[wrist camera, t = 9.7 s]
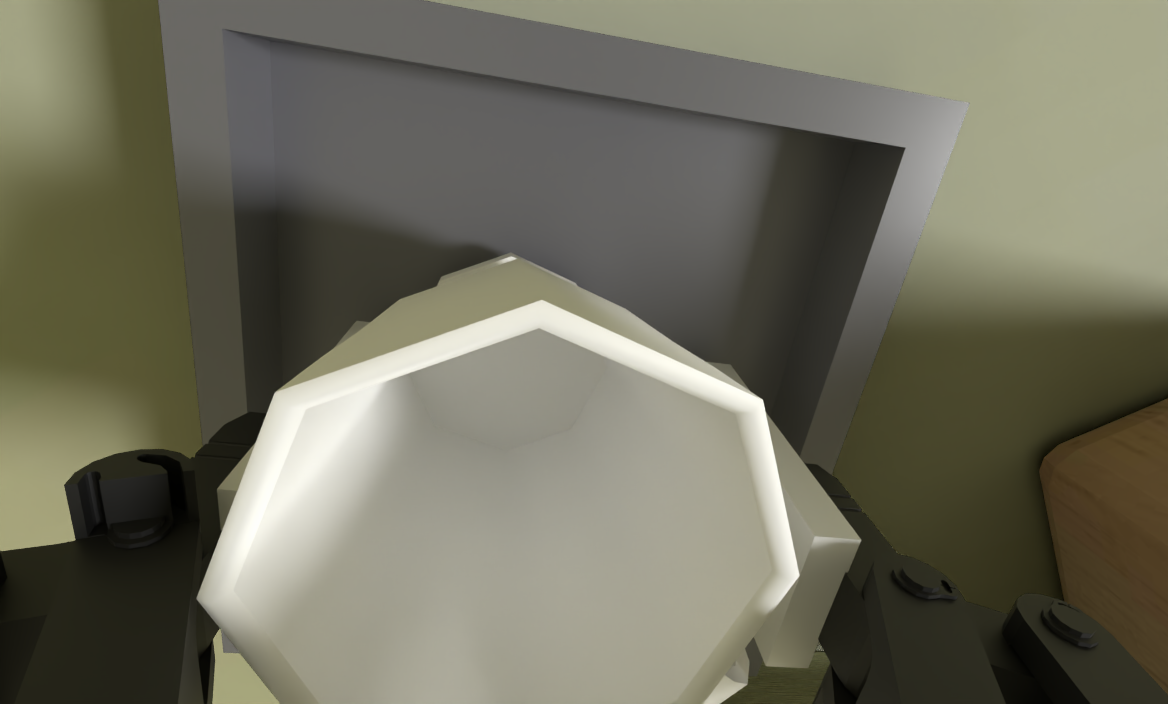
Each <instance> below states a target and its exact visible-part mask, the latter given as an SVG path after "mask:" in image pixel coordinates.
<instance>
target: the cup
mask: <svg viewBox="0 0 1168 704" xmlns="http://www.w3.org/2000/svg"><path fill="white" fill-rule="evenodd" d="M799 576H800V575H799V571H798V566H797V561H796V556H795V551H794V547H793V542H792V537H791V532H790V527H789V523H788V518H787V513H786V508H785V503H784V499H783V494H782V489H781V484H780V479H779V474H778V470H777V465H776V460H775V455H774V450H773V446H772V441H771V436H770V431H769V426H768V422H767V417H766V412H765V407H764V402H763V400H762V399H761V398H759V397H758V396H756V395H755V394H753V393H752V392H750V391H749V390H747V389H746V388H744V387H743V386H742V385H740V384H739V383H737V382H736V381H734V380H733V379H731V378H730V377H728V376H727V375H725V374H724V373H722V372H721V371H719V370H718V369H716V368H715V367H713V366H712V365H710V364H708V363H707V362H705V361H704V360H702V359H700V358H699V357H697V356H695V355H694V354H692V353H691V352H689V351H687V350H686V349H684V348H683V347H681V346H679V345H678V344H676V343H674V342H673V341H671V340H670V339H668V338H667V337H666V336H664V335H663V334H661V333H660V332H658V331H657V330H655V329H654V328H653V327H651V326H650V325H648V324H647V323H645V322H644V321H642V320H641V319H640V318H638V317H637V316H635V315H634V314H632V313H631V312H629V311H628V310H626V309H625V308H623V307H621V306H619V305H616V304H614V303H612V302H610V301H608V300H606V299H604V298H602V297H599V296H597V295H595V294H593V293H591V292H589V291H587V290H585V289H582V288H580V287H578V286H577V284H576V283H575V282H572V281H570V280H568V279H566V278H564V277H562V276H560V275H558V274H555V273H553V272H551V271H549V270H547V269H545V268H543V267H541V266H538V265H536V264H534V263H532V262H530V261H528V260H526V259H524V258H521V257H519V256H517V255H515V254H513V253H508V254H505V255H502V256H499V257H497V258H494V259H491V260H488V261H485V262H482V263H479V264H476V265H473V266H470V267H468V268H465V269H462V270H459V271H456V272H453V273H450V274H447V275H444V276H441V278H440V280H439V283H438V285H437V287H434V288H431V289H428V290H425V291H422V292H419V293H416V294H413V295H411V296H408V297H405V298H402V299H399V300H398V301H397V302H396V303H394V304H393V305H392V306H390V307H389V308H388V309H387V310H385V311H384V312H383V313H382V314H380V315H379V316H378V317H376V318H375V319H374V320H373V321H371V322H370V323H369V324H368V325H366V326H365V327H364V328H362V329H361V330H360V331H359V332H357V333H356V334H354V335H353V336H351V337H350V338H348V339H347V340H345V341H344V342H343V343H341V344H340V345H338V346H337V347H335V348H334V349H332V350H331V351H329V352H328V353H327V354H325V355H324V356H322V357H321V358H320V359H318V360H317V361H316V362H314V363H313V364H312V365H310V366H309V367H308V368H306V369H305V370H304V371H302V372H301V373H300V374H298V375H297V376H296V377H294V378H293V379H292V380H290V381H289V382H288V383H286V384H285V385H284V386H283V387H281V388H280V389H279V390H277V391H276V392H275V393H274V396H273V398H272V401H271V404H270V406H269V409H268V412H267V414H266V417H265V420H264V422H263V425H262V427H261V430H260V433H259V435H258V438H257V441H256V443H255V446H254V448H253V451H252V454H251V456H250V459H249V462H248V464H247V467H246V469H245V472H244V475H243V477H242V480H241V483H240V485H239V488H238V490H237V493H236V496H235V498H234V501H233V504H232V506H231V509H230V511H229V514H228V517H227V519H226V522H225V525H224V527H223V530H222V532H221V535H220V538H219V540H218V543H217V546H216V548H215V551H214V553H213V556H212V559H211V561H210V564H209V567H208V569H207V572H206V575H205V577H204V580H203V582H202V585H201V588H200V590H199V593H198V596H197V598H196V599H197V600H198V602H199V603H200V604H201V605H202V607H203V608H204V609H205V610H206V612H207V613H208V614H209V615H210V617H211V618H212V619H213V620H214V622H215V623H216V624H217V625H218V627H219V628H220V629H221V630H222V632H223V633H224V634H225V635H226V637H227V638H228V639H229V640H230V642H231V643H232V644H233V645H234V647H235V648H236V649H237V650H238V651H239V653H240V654H241V655H242V656H243V658H244V659H245V660H246V661H247V663H248V664H249V665H250V666H251V668H252V669H253V670H254V671H255V673H256V674H257V675H258V676H259V678H260V679H261V680H262V681H263V683H264V684H265V685H266V686H267V688H268V689H269V690H270V691H271V693H272V694H273V695H274V696H275V698H276V699H277V700H278V701H279V703H280V704H720V703H722V702H723V701H724V700H726V699H727V698H729V697H730V696H732V695H733V694H735V693H736V692H737V691H739V690H740V689H742V688H743V687H745V686H746V685H747V684H748V673H749V659H748V656H747V653H746V650H745V648H746V646H747V645H748V644H749V642H750V641H751V640H752V638H753V637H754V636H755V634H756V633H757V632H758V630H759V629H760V628H761V626H762V625H763V624H764V622H765V621H766V620H767V618H768V617H769V616H770V614H771V613H772V612H773V610H774V609H775V608H776V606H777V605H778V604H779V602H780V601H781V600H782V598H783V597H784V596H785V594H786V593H787V592H788V590H789V589H790V588H791V586H792V585H793V584H794V583H795V581H796V580H797V579H798V577H799Z"/></svg>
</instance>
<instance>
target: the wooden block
mask: <svg viewBox="0 0 1168 704" xmlns="http://www.w3.org/2000/svg"><path fill="white" fill-rule="evenodd" d="M1039 473H1040V478H1041V484H1042V489H1043V494H1044V499H1045V504H1046V509H1047V514H1048V520H1049V525H1050V530H1051V535H1052V540H1053V545H1054V551H1055V556H1056V561H1057V566H1058V571H1059V576H1060V581H1061V587H1062V592H1063V597H1064V602H1067V604H1071V605H1073V606H1075V607H1077V608H1079V609H1080V610H1082V611H1083V613H1085V614H1086V615H1088V616H1090V617H1091V618H1093V619H1094V620H1096V621H1097V622H1098V623H1099V624H1100V625H1102V626H1103V627H1104V628H1105V629H1106V630H1107V631H1108V632H1109V633H1111V634H1112V635H1113V636H1114V637H1115V639H1116V640H1117V641H1118V642H1119V643H1120V644H1121V645H1122V646H1123V647H1124V648H1125V649H1126V650H1127V651H1128V652H1129V654H1130V655H1131V656H1132V657H1133V658H1134V659H1135V660H1136V661H1137V662H1138V663H1139V664H1140V665H1141V666H1142V667H1143V668H1144V670H1145V671H1146V672H1147V673H1148V674H1149V675H1150V676H1151V677H1152V678H1153V679H1154V680H1155V681H1156V682H1157V683H1158V685H1159V686H1160V687H1161V688H1162V689H1163V690H1164V691H1165V692H1166V693H1167V694H1168V399H1165V400H1163V401H1161V402H1158V403H1156V404H1153V405H1151V406H1149V407H1146V408H1144V409H1142V410H1139V411H1137V412H1135V413H1132V414H1130V415H1127V416H1125V417H1123V418H1120V419H1118V420H1116V421H1113V422H1111V423H1108V424H1106V425H1104V426H1101V427H1099V428H1097V429H1094V430H1092V431H1090V432H1087V433H1085V434H1082V435H1080V436H1078V437H1075V438H1073V439H1071V440H1068V441H1066V442H1063V443H1061V444H1059V445H1057V446H1056V447H1055V448H1054V449H1053V450H1052V451H1051V452H1050V453H1049V454H1048V455H1046V456H1045V457H1044V459H1043V462H1042V464H1041V467H1040V470H1039Z"/></svg>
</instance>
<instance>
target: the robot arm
mask: <svg viewBox="0 0 1168 704" xmlns="http://www.w3.org/2000/svg"><path fill="white" fill-rule="evenodd" d="M369 323H370V322H363V321H356V322H355V323H354V324H353V326H352V327H351V328H350V329H349V330H348V332H347V333H346V334H345V335H344V336H343V338H342V339H341V340H340V341H339V342H338V344H337V345H336V346H335V347H337V346H338V345H340V344H341V343H343V342H344V341H345V340H347V339H348V338H350V337H351V336H353V335H354V334H356V333H357V332H359V331H360V330H361V329H362V328H364V327H365V326H366V325H368V324H369ZM335 347H334V348H335ZM334 348H333V349H334ZM707 363H708V364H710V365H712V366H713V367H715V368H716V369H718V370H719V371H721V372H722V373H724V374H725V375H727V376H728V377H730V378H731V379H733V380H734V381H736V382H737V383H739V384H740V385H742V386H743V387H744V388H746V389H747V390H749V389H748V388H747V386H746V385H745V384H744V382H743V381H742V379H741V378H740V377H739V375H738V374H737V373H736V371H735V370H734V369H733V367H732V366H731V365H730V364H722V363H713V362H707ZM749 391H750V390H749ZM266 414H267V413H258V412H248V413H246V414H244V415H242V416H240V417H238V418H236V419H234V420H232V421H230V422H228V423H226V424H224V425H223V426H222V427H221V428H220V429H219V430H218V431H217V432H216V433H215V434H214V435H213V436H212V437H211V439H210V440H209V442H208V444H205V445H204V446H203V447H202V448H201V449H200V450H199V451H198V452H197V453H196V454H195V458H193V457H192V458H191V459H189V458H187V457H186V456H184V455H183V454H181V453H178V452H173V451H169V450H164V449H140V450H135V451H129V452H123V453H118V454H114V455H111V456H108V457H106V458H103V459H100V460H97V461H94V462H92V463H90V464H89V465H87V466H85V467H84V468H82V469H80V470H79V471H77V472H75V473H74V474H73V475H72V477H71V478H70V479H69V480H68V481H67V482H66V484H65V485H64V486H65V491H66V496H67V501H68V505H69V510H70V515H71V520H72V524H73V529H74V534H75V539H76V540H75V541H72V542H66V543H61V544H54V545H47V546H39V547H31V548H24V549H16V550H8V551H0V704H212V698H213V683H214V668H215V654H214V645H213V638H214V636H215V635H216V633H217V632H218V630H219V627H218V625H217V624H216V623H215V622H214V620H213V619H212V618H211V617H210V615H209V614H208V613H207V612H206V610H205V609H204V608H203V607H202V605H201V604H200V603H199V602H198V600H197V599H196V598H197V596H198V593H199V590H200V588H201V585H202V582H203V580H204V577H205V575H206V572H207V569H208V567H209V564H210V561H211V559H212V556H213V553H214V551H215V548H216V546H217V543H218V540H219V538H220V535H221V532H222V530H223V527H224V525H225V522H226V519H227V517H228V514H229V511H230V509H231V506H232V504H233V501H234V498H235V496H236V493H237V490H238V488H239V485H240V483H241V480H242V477H243V475H244V472H245V469H246V467H247V464H248V462H249V459H250V456H251V454H252V451H253V448H254V446H255V443H256V441H257V438H258V435H259V433H260V430H261V427H262V425H263V422H264V420H265V417H266ZM766 417H767V422H768V426H769V431H770V436H771V441H772V446H773V450H774V455H775V460H776V465H777V470H778V474H779V479H780V484H781V489H782V494H783V499H784V503H785V508H786V513H787V518H788V523H789V527H790V532H791V537H792V542H793V547H794V551H795V556H796V561H797V566H798V571H799V575H800V576H799V577H798V579H797V580H796V581H795V583H794V584H793V585H792V586H791V588H790V589H789V590H788V592H787V593H786V594H785V596H784V597H783V598H782V600H781V601H780V602H779V604H778V605H777V606H776V608H775V609H774V610H773V612H772V613H771V614H770V616H769V617H768V618H767V620H766V621H765V622H764V624H763V625H762V626H761V628H760V629H759V630H758V632H757V633H756V634H755V636H754V639H755V641H756V644H757V646H758V648H759V651H760V653H761V656H762V658H763V661H764V663H765V666H770V667H791V668H808V667H809V665H810V663H811V660H812V658H813V655H814V653H815V651H816V648H817V646H818V643H819V642H820V644H821V646H822V648H823V650H824V652H825V653H826V655H827V657H828V659H829V661H830V664H829V666H828V669H827V671H826V673H825V675H824V678H823V680H822V682H821V685H820V687H819V689H818V692H817V694H816V696H815V699H814V701H813V703H812V704H1168V694H1167V693H1166V692H1165V691H1164V690H1163V689H1162V688H1161V687H1160V686H1159V685H1158V683H1157V682H1156V681H1155V680H1154V679H1153V678H1152V677H1151V676H1150V675H1149V674H1148V673H1147V672H1146V671H1145V670H1144V668H1143V667H1142V666H1141V665H1140V664H1139V663H1138V662H1137V661H1136V660H1135V659H1134V658H1133V657H1132V656H1131V655H1130V654H1129V652H1128V651H1127V650H1126V649H1125V648H1124V647H1123V646H1122V645H1121V644H1120V643H1119V642H1118V641H1117V640H1116V639H1115V637H1114V636H1113V635H1112V634H1111V633H1109V632H1108V631H1107V630H1106V629H1105V628H1104V627H1103V626H1102V625H1100V624H1099V623H1098V622H1097V621H1096V620H1094V619H1093V618H1091V617H1090V616H1088V615H1086V614H1085V613H1083V611H1082V610H1080V609H1079V608H1077V607H1075V606H1073V605H1071V604H1067V602H1064V601H1062V600H1059V599H1055V598H1052V597H1048V596H1045V595H1041V594H1024V595H1022V596H1020V597H1019V598H1017V600H1016V602H1015V604H1014V606H1013V607H1012V609H1011V611H1010V613H1009V614H1006V613H1002V612H999V611H996V610H992V609H989V608H986V607H982V606H979V605H976V604H972V603H969V602H966V601H965V600H964V598H963V596H962V594H961V593H960V591H959V590H958V588H957V587H956V585H954V584H953V583H952V582H951V581H950V580H949V579H948V578H947V577H946V576H945V575H944V574H942V573H941V572H939V571H937V570H936V569H934V568H933V567H931V566H929V565H928V564H926V563H923V562H921V561H919V560H916V559H914V558H911V557H908V556H903V555H898V554H897V553H896V552H895V550H894V549H893V548H892V547H891V545H890V544H889V543H888V542H887V540H886V539H885V538H884V537H883V535H882V534H881V533H880V532H879V530H878V529H877V528H876V527H875V525H874V524H873V523H872V522H871V520H870V519H869V518H868V517H867V515H866V514H865V513H862V512H861V510H862V509H861V508H860V507H859V506H858V504H857V503H856V502H855V501H854V499H851V498H850V497H851V496H850V494H849V493H848V492H847V491H846V489H845V488H844V487H843V486H842V484H841V483H840V482H839V481H838V479H836V478H835V477H834V476H832V475H831V474H829V473H828V472H827V471H825V470H824V469H823V468H821V467H820V466H819V465H817V464H809V463H803V461H802V460H801V458H800V457H799V456H798V454H797V453H796V452H795V450H794V449H793V448H792V446H791V445H790V444H789V442H788V441H787V440H786V438H785V437H784V436H783V434H782V433H781V432H780V430H779V429H778V428H777V426H776V425H775V424H774V422H773V421H772V420H771V418H770V417H769V416H768V414H767V413H766Z"/></svg>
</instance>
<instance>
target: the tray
mask: <svg viewBox="0 0 1168 704" xmlns="http://www.w3.org/2000/svg"><path fill="white" fill-rule="evenodd" d="M158 4H159V14H160V24H161V34H162V44H163V54H164V64H165V74H166V84H167V94H168V104H169V114H170V124H171V134H172V144H173V154H174V164H175V174H176V184H177V194H178V204H179V214H180V224H181V234H182V244H183V254H184V264H185V274H186V284H187V294H188V304H189V314H190V324H191V334H192V344H193V353H194V363H195V373H196V383H197V393H198V403H199V413H200V423H201V433H202V443H203V446H204V445H205V444H208V442H209V440H210V439H211V437H212V436H213V435H214V434H215V433H216V432H217V431H218V430H219V429H220V428H221V427H222V426H223V425H224V424H226V423H228V422H230V421H232V420H234V419H236V418H238V417H240V416H242V415H244V414H246V413H248V412H258V413H267V412H268V409H269V406H270V404H271V401H272V398H273V396H274V393H275V392H276V391H277V390H279V389H280V388H281V387H283V386H284V385H285V384H286V383H288V382H289V381H290V380H292V379H293V378H294V377H296V376H297V375H298V374H300V373H301V372H302V371H304V370H305V369H306V368H308V367H309V366H310V365H312V364H313V363H314V362H316V361H317V360H318V359H320V358H321V357H322V356H324V355H325V354H327V353H328V352H329V351H331V350H332V349H333V348H334V347H335V346H336V345H337V344H338V342H339V341H340V340H341V339H342V338H343V336H344V335H345V334H346V333H347V332H348V330H349V329H350V328H351V327H352V326H353V324H354V323H355V322H356V321H363V322H371V321H373V320H374V319H375V318H376V317H378V316H379V315H380V314H382V313H383V312H384V311H385V310H387V309H388V308H389V307H390V306H392V305H393V304H394V303H396V302H397V301H398V300H399V299H402V298H405V297H408V296H411V295H413V294H416V293H419V292H422V291H425V290H428V289H431V288H434V287H437V285H438V283H439V280H440V278H441V276H444V275H447V274H450V273H453V272H456V271H459V270H462V269H465V268H468V267H470V266H473V265H476V264H479V263H482V262H485V261H488V260H491V259H494V258H497V257H499V256H502V255H505V254H508V253H513V254H515V255H517V256H519V257H521V258H524V259H526V260H528V261H530V262H532V263H534V264H536V265H538V266H541V267H543V268H545V269H547V270H549V271H551V272H553V273H555V274H558V275H560V276H562V277H564V278H566V279H568V280H570V281H572V282H575V283H576V284H577V286H578V287H580V288H582V289H585V290H587V291H589V292H591V293H593V294H595V295H597V296H599V297H602V298H604V299H606V300H608V301H610V302H612V303H614V304H616V305H619V306H621V307H623V308H625V309H626V310H628V311H629V312H631V313H632V314H634V315H635V316H637V317H638V318H640V319H641V320H642V321H644V322H645V323H647V324H648V325H650V326H651V327H653V328H654V329H655V330H657V331H658V332H660V333H661V334H663V335H664V336H666V337H667V338H668V339H670V340H671V341H673V342H674V343H676V344H678V345H679V346H681V347H683V348H684V349H686V350H687V351H689V352H691V353H692V354H694V355H695V356H697V357H699V358H700V359H702V360H704V361H705V362H713V363H722V364H730V365H731V366H732V367H733V369H734V370H735V371H736V373H737V374H738V375H739V377H740V378H741V379H742V381H743V382H744V384H745V385H746V386H747V388H748V389H749V390H750V392H752V393H753V394H755V395H756V396H758V397H759V398H761V399H762V400H763V402H764V407H765V412H766V413H767V414H768V416H769V417H770V418H771V420H772V421H773V422H774V424H775V425H776V426H777V428H778V429H779V430H780V432H781V433H782V434H783V436H784V437H785V438H786V440H787V441H788V442H789V444H790V445H791V446H792V448H793V449H794V450H795V452H796V453H797V454H798V456H799V457H800V458H801V460H802V461H803V463H809V464H817V465H819V466H820V467H821V468H823V469H824V470H825V471H827V472H828V473H829V474H831V475H832V473H833V470H834V467H835V465H836V462H837V459H838V457H839V454H840V451H841V449H842V446H843V443H844V440H845V438H846V435H847V432H848V430H849V427H850V424H851V422H852V419H853V416H854V414H855V411H856V408H857V405H858V403H859V400H860V397H861V395H862V392H863V389H864V387H865V384H866V381H867V379H868V376H869V373H870V370H871V368H872V365H873V362H874V360H875V357H876V354H877V352H878V349H879V346H880V344H881V341H882V338H883V335H884V333H885V330H886V327H887V325H888V322H889V319H890V317H891V314H892V311H893V309H894V306H895V303H896V300H897V298H898V295H899V292H900V290H901V287H902V284H903V282H904V279H905V276H906V274H907V271H908V268H909V265H910V263H911V260H912V257H913V255H914V252H915V249H916V247H917V244H918V241H919V239H920V236H921V233H922V230H923V228H924V225H925V222H926V220H927V217H928V214H929V212H930V209H931V206H932V204H933V201H934V198H935V195H936V193H937V190H938V187H939V185H940V182H941V179H942V177H943V174H944V171H945V169H946V166H947V163H948V160H949V158H950V155H951V152H952V150H953V147H954V144H955V142H956V139H957V136H958V134H959V131H960V128H961V125H962V123H963V120H964V117H965V115H966V112H967V109H968V107H969V104H970V103H967V102H962V101H957V100H951V99H946V98H941V97H935V96H930V95H925V94H919V93H914V92H909V91H903V90H898V89H893V88H887V87H882V86H877V85H871V84H866V83H861V82H856V81H850V80H845V79H840V78H834V77H829V76H824V75H818V74H813V73H808V72H802V71H797V70H792V69H786V68H781V67H776V66H770V65H765V64H760V63H754V62H749V61H744V60H738V59H733V58H728V57H722V56H717V55H712V54H706V53H701V52H696V51H690V50H685V49H680V48H675V47H669V46H664V45H659V44H653V43H648V42H643V41H637V40H632V39H627V38H621V37H616V36H611V35H605V34H600V33H595V32H589V31H584V30H579V29H573V28H568V27H563V26H557V25H552V24H547V23H541V22H536V21H531V20H525V19H520V18H515V17H510V16H504V15H499V14H494V13H488V12H483V11H478V10H472V9H467V8H462V7H456V6H451V5H446V4H440V3H435V2H430V1H424V0H158ZM221 633H222V643H223V653H239V651H238V650H237V649H236V648H235V647H234V645H233V644H232V643H231V642H230V640H229V639H228V638H227V637H226V635H225V634H224V633H223V632H222V630H221ZM745 650H746V653H747V656H748V659H749V673H748V676H757V675H758V672H759V669H760V667H761V664H762V661H763V658H762V656H761V653H760V651H759V648H758V646H757V644H756V641H755V639H754V637H753V638H752V640H751V641H750V642H749V644H748V645H747V646H746V648H745Z"/></svg>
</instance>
